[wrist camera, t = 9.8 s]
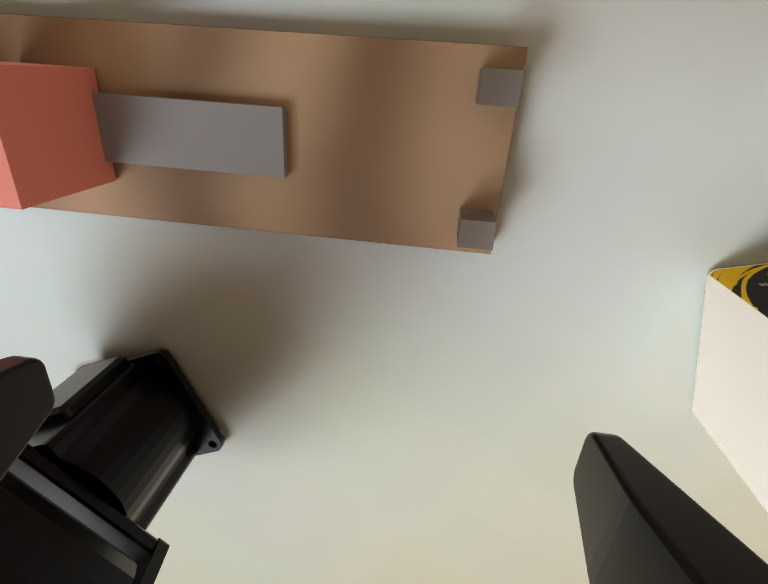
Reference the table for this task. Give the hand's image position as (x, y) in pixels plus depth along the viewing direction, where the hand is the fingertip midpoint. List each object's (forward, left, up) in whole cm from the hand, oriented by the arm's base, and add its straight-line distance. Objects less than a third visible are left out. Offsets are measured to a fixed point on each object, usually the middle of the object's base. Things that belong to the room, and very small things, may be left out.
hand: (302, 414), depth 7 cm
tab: (+6, +7, -11) cm, 14 cm away
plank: (+5, +5, -12) cm, 14 cm away
